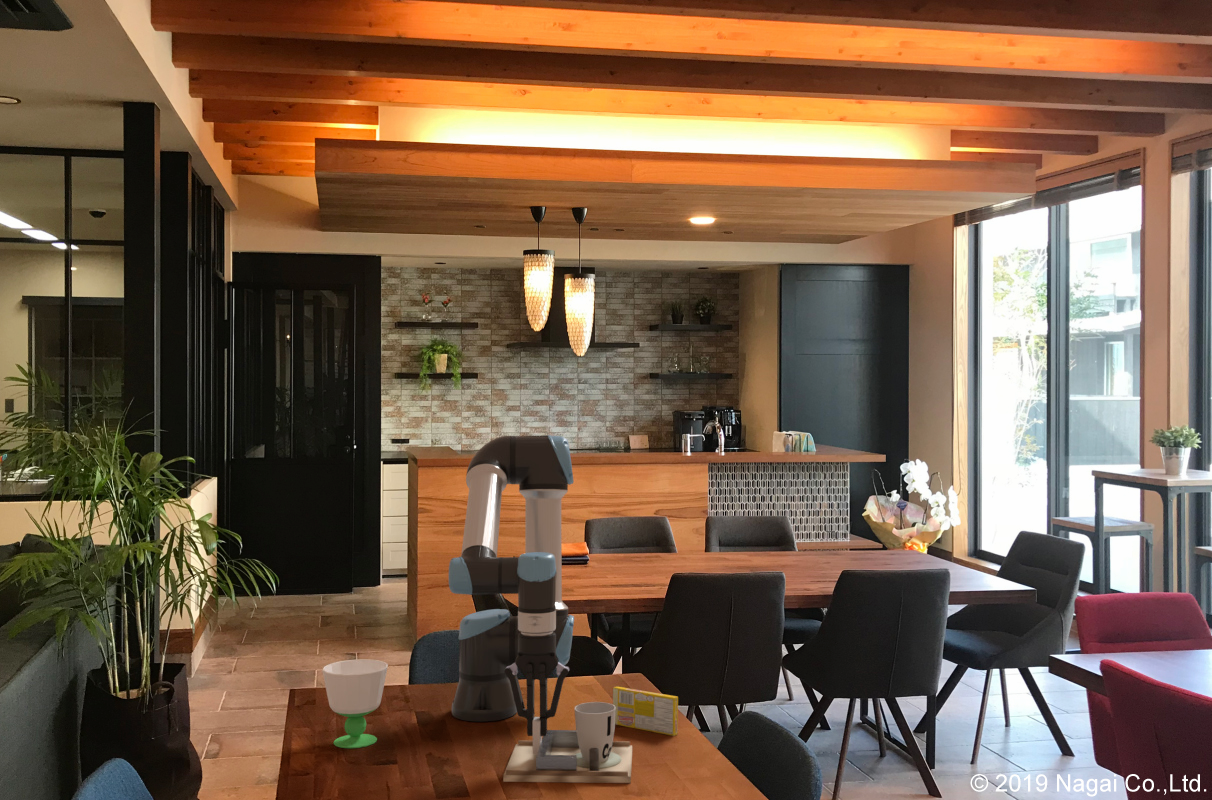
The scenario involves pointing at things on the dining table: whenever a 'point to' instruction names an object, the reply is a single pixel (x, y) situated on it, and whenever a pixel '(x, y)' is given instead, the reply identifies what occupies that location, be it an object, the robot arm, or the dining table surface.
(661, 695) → the candy box
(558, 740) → the grey u-shaped bracket
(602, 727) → the cup
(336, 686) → the cup
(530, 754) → the jig
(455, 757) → the dining table surface
